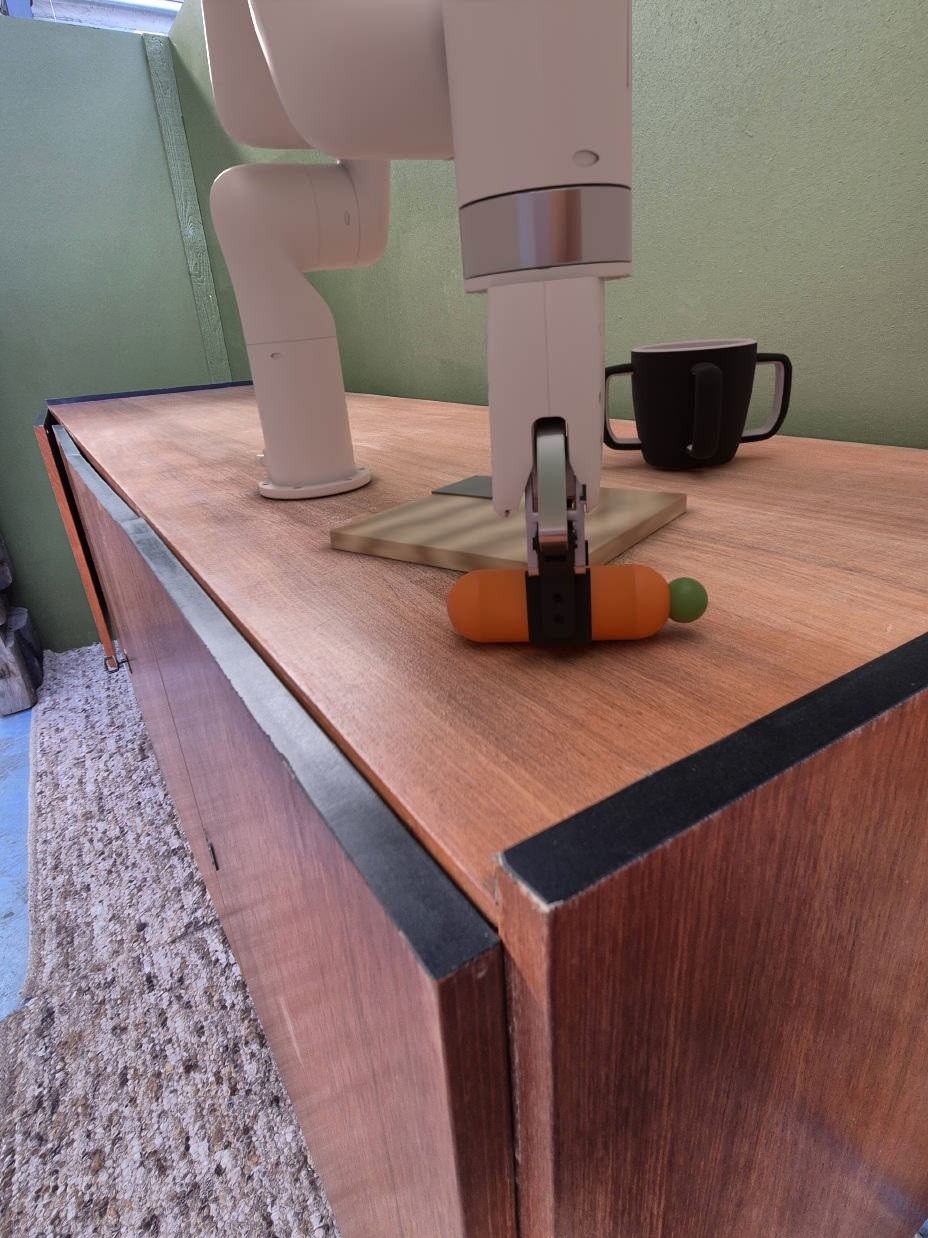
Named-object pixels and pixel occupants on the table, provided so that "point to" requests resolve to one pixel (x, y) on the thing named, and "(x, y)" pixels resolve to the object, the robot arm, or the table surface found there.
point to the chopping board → (498, 527)
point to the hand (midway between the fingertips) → (560, 622)
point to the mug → (696, 401)
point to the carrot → (619, 603)
